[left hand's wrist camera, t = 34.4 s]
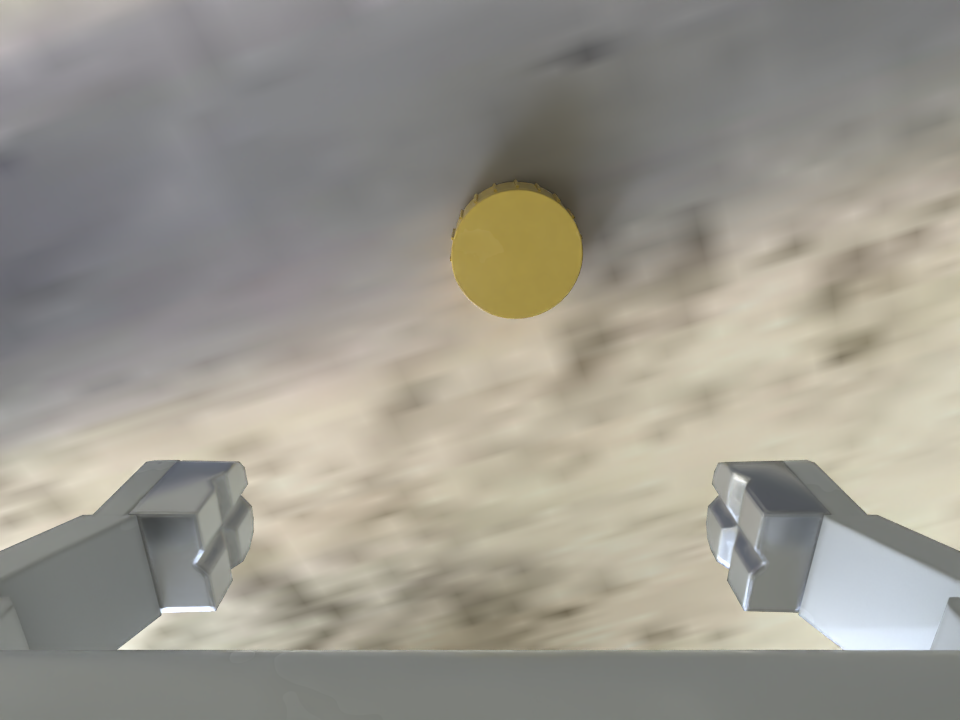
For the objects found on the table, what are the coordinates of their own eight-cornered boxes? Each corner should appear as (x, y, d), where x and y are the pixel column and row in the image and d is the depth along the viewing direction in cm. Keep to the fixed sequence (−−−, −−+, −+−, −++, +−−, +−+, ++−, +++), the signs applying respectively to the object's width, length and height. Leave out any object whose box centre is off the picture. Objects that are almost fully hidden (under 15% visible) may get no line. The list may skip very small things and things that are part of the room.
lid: (504, 151, 22) (505, 157, 20) (602, 232, 23) (613, 244, 21) (427, 254, 24) (422, 269, 22) (523, 325, 25) (526, 344, 23)
